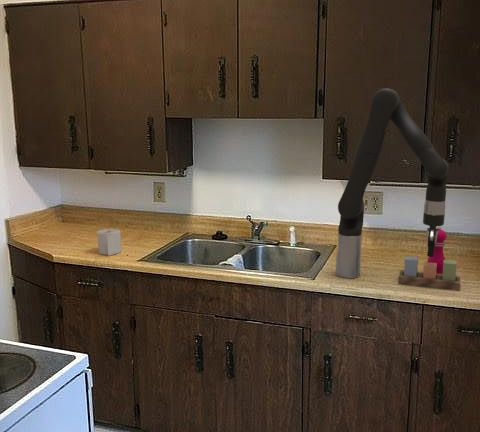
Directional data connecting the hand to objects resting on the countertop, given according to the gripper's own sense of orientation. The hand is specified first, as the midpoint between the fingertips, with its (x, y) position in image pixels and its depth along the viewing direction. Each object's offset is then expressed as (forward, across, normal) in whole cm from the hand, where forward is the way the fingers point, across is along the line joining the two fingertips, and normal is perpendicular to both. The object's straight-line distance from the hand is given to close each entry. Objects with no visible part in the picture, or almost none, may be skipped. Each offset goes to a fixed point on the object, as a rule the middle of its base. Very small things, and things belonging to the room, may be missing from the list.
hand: (430, 256), depth 207 cm
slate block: (+9, 0, -7) cm, 11 cm away
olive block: (+8, 0, +7) cm, 11 cm away
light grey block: (+14, +5, -142) cm, 142 cm away
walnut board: (+11, 0, 0) cm, 11 cm away
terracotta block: (+10, 0, 0) cm, 10 cm away
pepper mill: (+11, -14, +2) cm, 18 cm away
